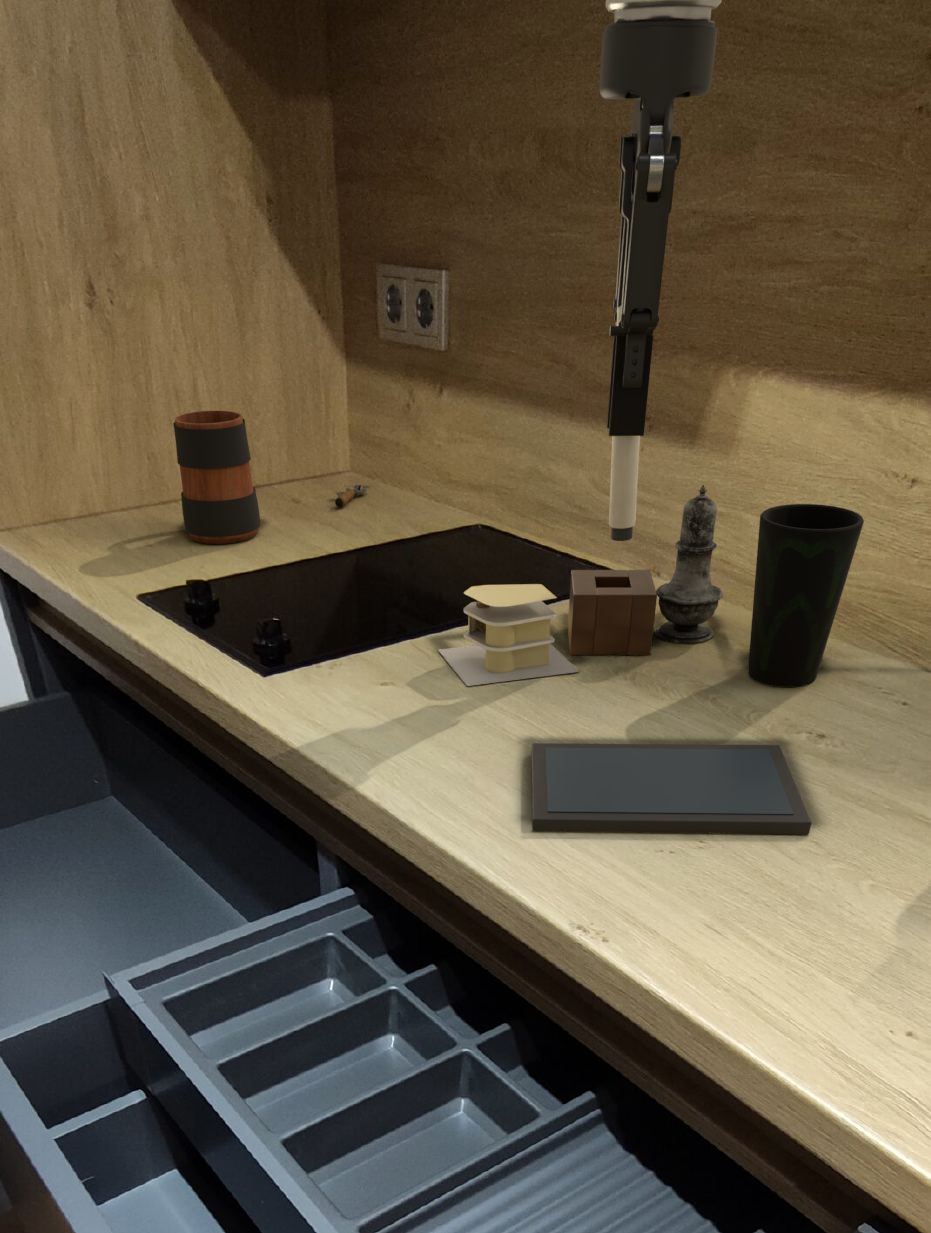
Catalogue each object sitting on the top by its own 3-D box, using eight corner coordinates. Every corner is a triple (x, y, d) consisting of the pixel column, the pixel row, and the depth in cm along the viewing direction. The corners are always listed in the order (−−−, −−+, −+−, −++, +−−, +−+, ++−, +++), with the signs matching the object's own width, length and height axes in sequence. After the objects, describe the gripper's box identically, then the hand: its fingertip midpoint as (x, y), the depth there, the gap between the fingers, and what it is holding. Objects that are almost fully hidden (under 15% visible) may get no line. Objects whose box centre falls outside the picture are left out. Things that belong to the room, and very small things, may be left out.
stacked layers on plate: (543, 637, 100) (546, 572, 97) (579, 672, 94) (584, 603, 90) (437, 650, 99) (436, 584, 95) (467, 686, 92) (467, 617, 88)
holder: (644, 627, 102) (650, 569, 98) (650, 655, 97) (657, 594, 93) (567, 627, 102) (571, 569, 99) (570, 654, 97) (573, 594, 94)
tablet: (777, 756, 81) (780, 743, 80) (809, 834, 72) (812, 821, 71) (531, 754, 82) (531, 741, 81) (532, 831, 73) (532, 818, 73)
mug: (230, 514, 134) (216, 401, 126) (274, 537, 126) (261, 418, 119) (163, 526, 131) (144, 410, 123) (204, 550, 123) (186, 428, 115)
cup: (735, 655, 96) (760, 502, 88) (826, 660, 95) (859, 504, 87) (734, 689, 91) (761, 528, 82) (831, 694, 89) (868, 531, 81)
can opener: (343, 508, 135) (342, 497, 134) (325, 507, 136) (324, 496, 135) (371, 491, 141) (370, 480, 140) (354, 489, 142) (354, 479, 141)
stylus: (633, 533, 95) (645, 303, 84) (635, 541, 93) (648, 306, 82) (607, 535, 95) (616, 305, 84) (609, 542, 93) (618, 308, 82)
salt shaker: (640, 637, 100) (655, 488, 92) (669, 618, 104) (686, 473, 96) (700, 649, 97) (721, 497, 89) (727, 629, 101) (750, 481, 93)
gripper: (597, 25, 79) (574, 412, 94) (610, 11, 67) (581, 452, 83) (704, 23, 78) (663, 411, 94) (735, 7, 67) (682, 452, 83)
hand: (624, 430), depth 89 cm, fingers closed on stylus, 2 cm apart
